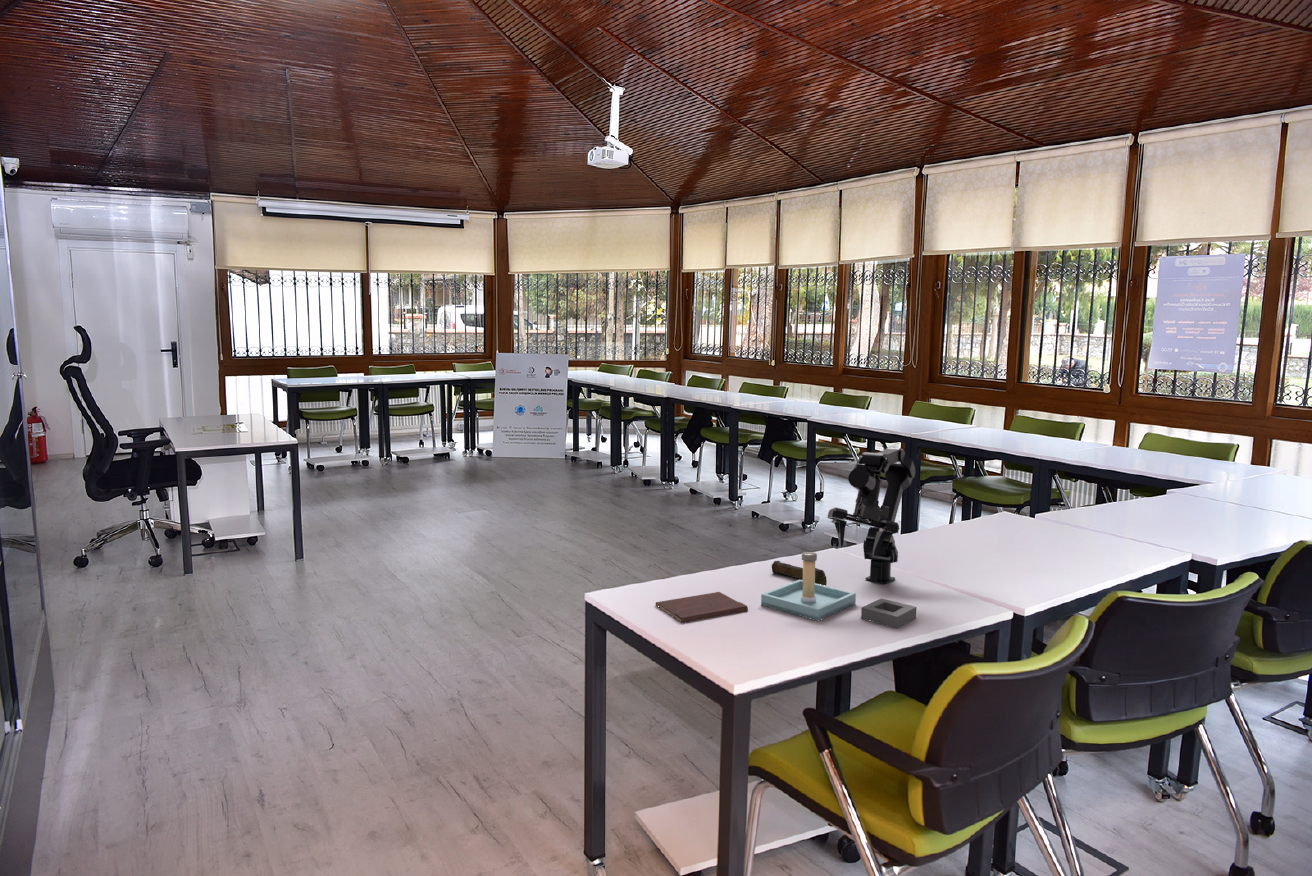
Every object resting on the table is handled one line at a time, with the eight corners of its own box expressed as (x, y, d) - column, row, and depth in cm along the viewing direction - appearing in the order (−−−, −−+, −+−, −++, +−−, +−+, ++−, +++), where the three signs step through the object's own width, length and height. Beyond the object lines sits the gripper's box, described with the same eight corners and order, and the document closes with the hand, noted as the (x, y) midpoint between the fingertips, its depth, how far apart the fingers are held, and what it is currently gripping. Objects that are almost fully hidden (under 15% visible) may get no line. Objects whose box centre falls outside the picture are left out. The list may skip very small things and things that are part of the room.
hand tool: (770, 574, 252) (770, 559, 251) (779, 571, 254) (779, 557, 254) (820, 589, 237) (820, 573, 237) (828, 586, 240) (829, 570, 239)
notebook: (655, 607, 223) (655, 600, 223) (718, 596, 232) (718, 590, 232) (682, 625, 210) (682, 617, 210) (748, 613, 219) (748, 606, 218)
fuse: (813, 598, 225) (814, 551, 224) (817, 603, 221) (818, 555, 220) (798, 598, 225) (799, 552, 223) (803, 603, 221) (804, 556, 219)
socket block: (880, 609, 219) (881, 598, 219) (916, 618, 212) (916, 606, 212) (861, 618, 212) (861, 607, 212) (897, 628, 205) (897, 616, 205)
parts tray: (799, 589, 236) (799, 579, 235) (855, 604, 223) (855, 593, 223) (761, 605, 223) (761, 594, 223) (818, 621, 211) (818, 609, 210)
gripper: (843, 484, 223) (831, 541, 220) (910, 501, 223) (900, 558, 220) (832, 489, 234) (821, 543, 231) (896, 505, 234) (886, 559, 231)
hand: (857, 551), depth 228 cm, fingers open, 9 cm apart
